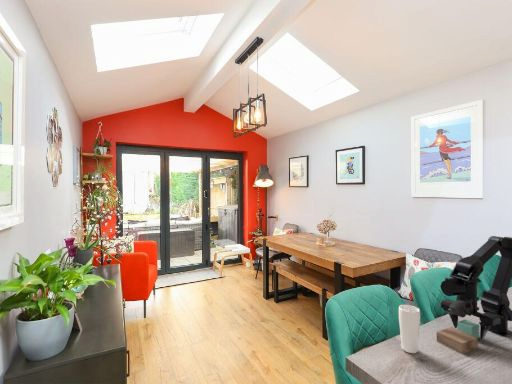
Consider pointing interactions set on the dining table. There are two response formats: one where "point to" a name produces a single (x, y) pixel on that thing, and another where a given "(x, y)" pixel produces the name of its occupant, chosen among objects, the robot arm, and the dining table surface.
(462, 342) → the walnut block
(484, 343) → the dining table surface
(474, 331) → the teal cube
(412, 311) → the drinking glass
